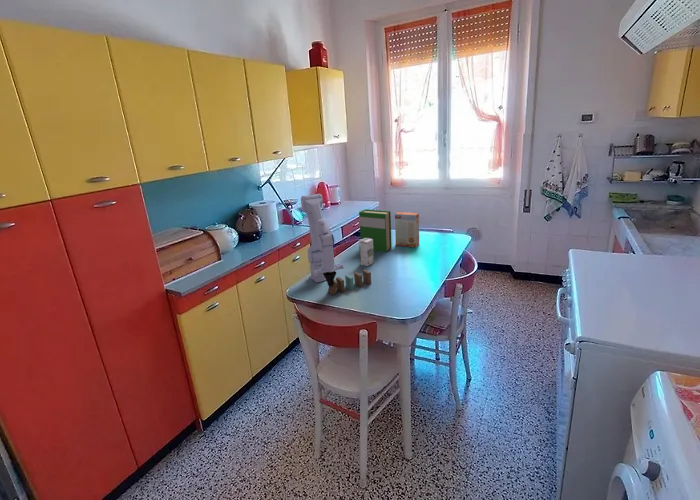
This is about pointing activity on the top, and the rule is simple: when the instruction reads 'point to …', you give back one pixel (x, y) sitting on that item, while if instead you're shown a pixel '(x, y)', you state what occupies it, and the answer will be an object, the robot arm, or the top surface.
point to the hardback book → (376, 228)
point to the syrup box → (366, 251)
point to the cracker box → (407, 229)
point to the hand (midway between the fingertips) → (330, 285)
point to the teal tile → (349, 282)
